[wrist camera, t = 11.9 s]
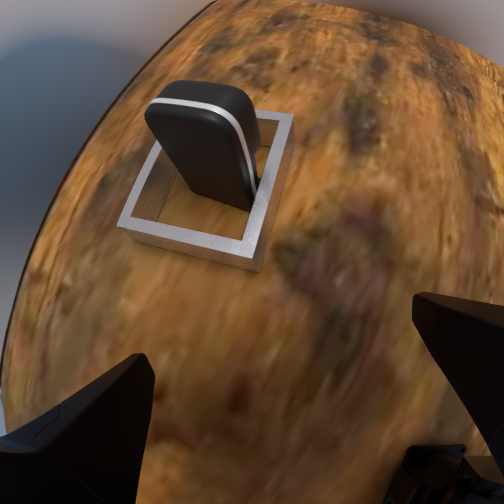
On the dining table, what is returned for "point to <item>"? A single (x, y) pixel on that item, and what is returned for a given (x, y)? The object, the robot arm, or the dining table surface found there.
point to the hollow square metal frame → (203, 244)
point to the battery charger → (209, 138)
